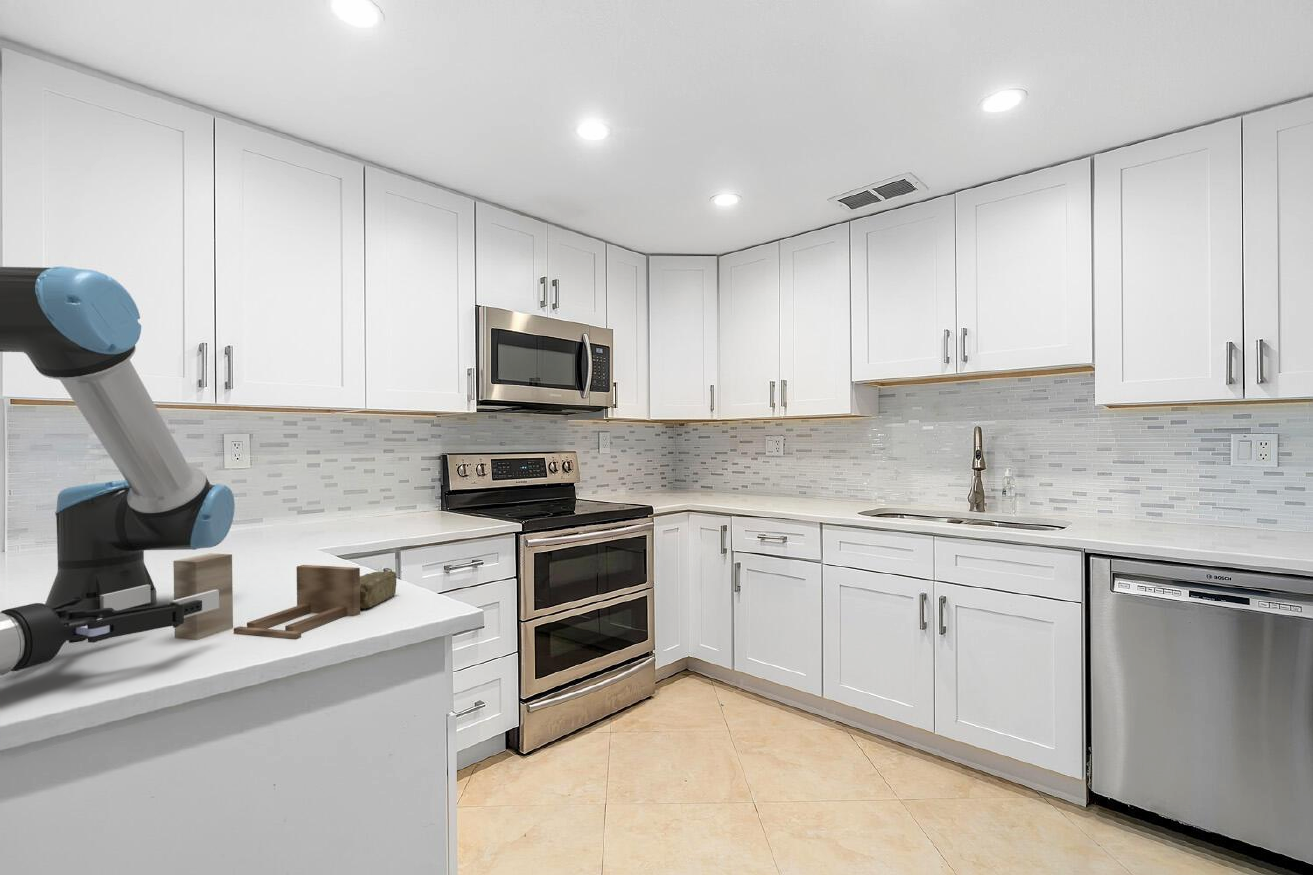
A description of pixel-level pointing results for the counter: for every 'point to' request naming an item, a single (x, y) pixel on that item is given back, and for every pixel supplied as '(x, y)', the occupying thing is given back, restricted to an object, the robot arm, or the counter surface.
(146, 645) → the counter surface
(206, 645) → the counter surface
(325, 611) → the wooden book stand
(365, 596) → the stone block
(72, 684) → the counter surface
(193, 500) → the robot arm
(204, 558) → the light wooden block
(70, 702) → the counter surface
